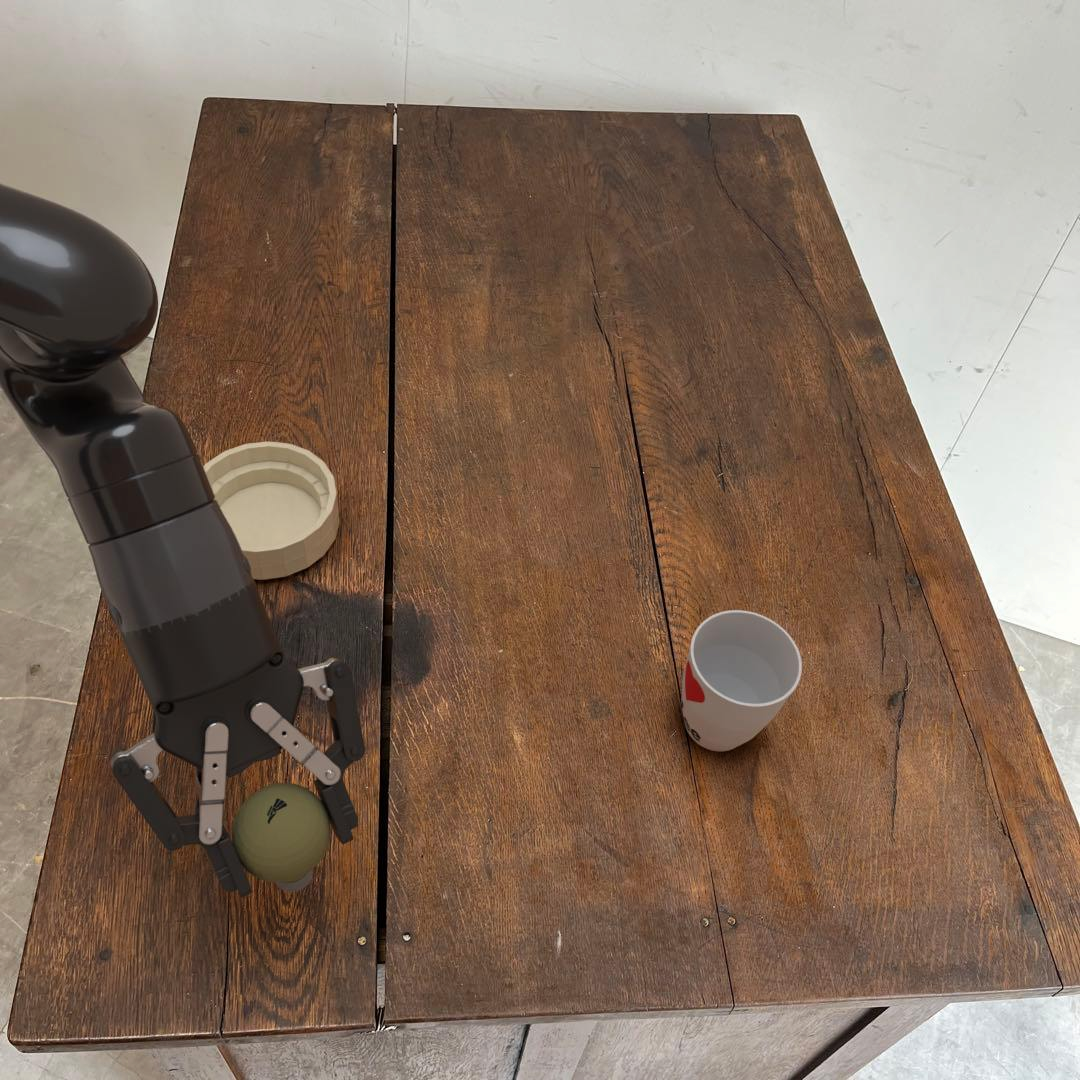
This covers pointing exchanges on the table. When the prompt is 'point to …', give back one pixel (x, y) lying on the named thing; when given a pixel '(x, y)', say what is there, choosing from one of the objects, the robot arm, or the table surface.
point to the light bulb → (281, 834)
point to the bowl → (276, 505)
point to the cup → (736, 678)
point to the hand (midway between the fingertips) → (295, 863)
